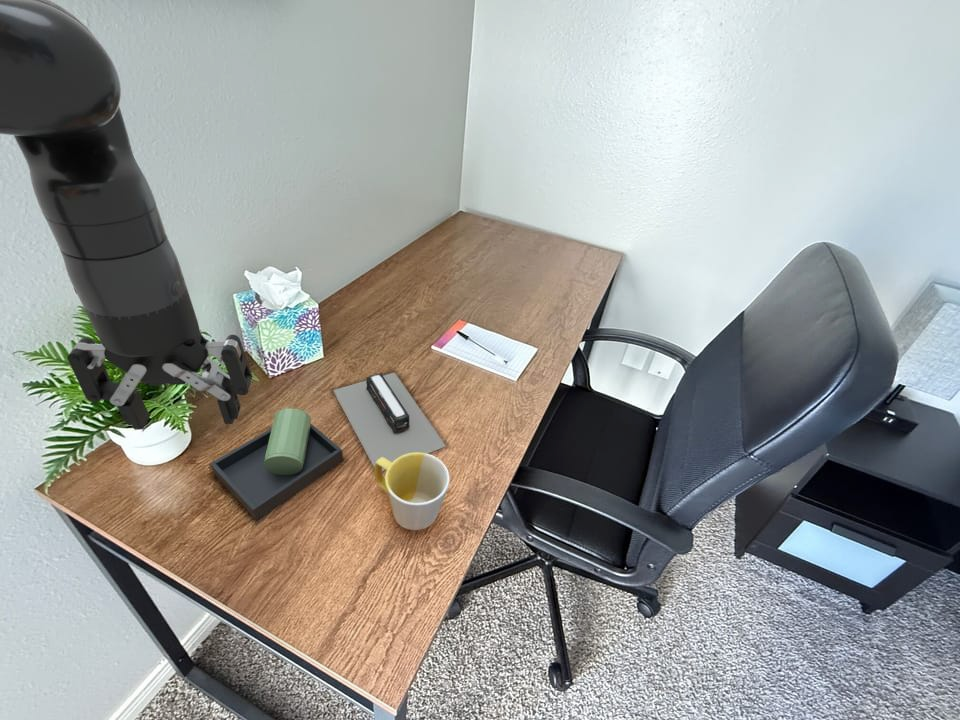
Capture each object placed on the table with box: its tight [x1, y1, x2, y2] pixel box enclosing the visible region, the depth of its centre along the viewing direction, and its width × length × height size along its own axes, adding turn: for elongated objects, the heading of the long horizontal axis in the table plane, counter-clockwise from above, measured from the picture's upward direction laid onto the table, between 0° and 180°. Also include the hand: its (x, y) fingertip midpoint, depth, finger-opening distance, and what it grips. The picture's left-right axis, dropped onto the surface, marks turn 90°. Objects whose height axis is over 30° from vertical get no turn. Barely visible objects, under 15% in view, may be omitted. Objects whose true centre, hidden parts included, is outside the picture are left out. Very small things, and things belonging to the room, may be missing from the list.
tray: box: [209, 423, 344, 522], centre depth 83 cm, size 17×13×3 cm
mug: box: [374, 452, 451, 531], centre depth 78 cm, size 14×10×10 cm
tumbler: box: [263, 408, 312, 475], centre depth 84 cm, size 6×6×10 cm
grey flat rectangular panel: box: [332, 371, 447, 472], centre depth 96 cm, size 14×25×4 cm, turn 32°
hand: (187, 421), depth 50 cm, fingers open, 8 cm apart
